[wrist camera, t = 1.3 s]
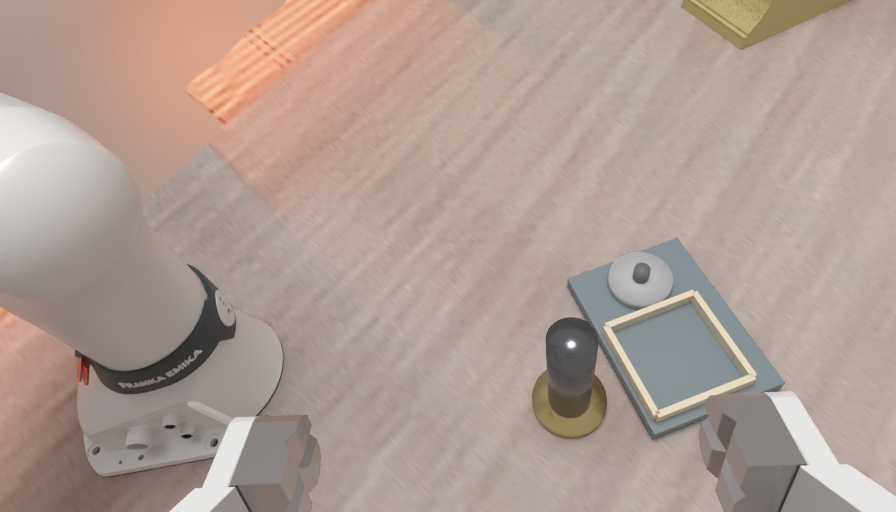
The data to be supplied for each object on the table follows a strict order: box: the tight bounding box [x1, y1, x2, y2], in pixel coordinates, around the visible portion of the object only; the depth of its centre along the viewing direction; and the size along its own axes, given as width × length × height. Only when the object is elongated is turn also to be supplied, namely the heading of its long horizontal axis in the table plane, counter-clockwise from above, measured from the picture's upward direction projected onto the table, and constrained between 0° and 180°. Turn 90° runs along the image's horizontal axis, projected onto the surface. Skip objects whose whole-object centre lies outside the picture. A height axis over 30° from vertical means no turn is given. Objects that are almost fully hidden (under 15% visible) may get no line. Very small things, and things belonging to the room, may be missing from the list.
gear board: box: [568, 238, 785, 439], centre depth 55 cm, size 13×18×4 cm
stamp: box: [532, 317, 607, 438], centre depth 49 cm, size 7×7×14 cm
